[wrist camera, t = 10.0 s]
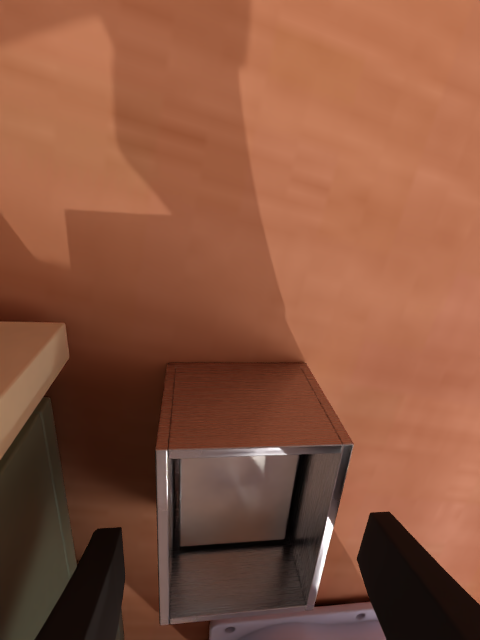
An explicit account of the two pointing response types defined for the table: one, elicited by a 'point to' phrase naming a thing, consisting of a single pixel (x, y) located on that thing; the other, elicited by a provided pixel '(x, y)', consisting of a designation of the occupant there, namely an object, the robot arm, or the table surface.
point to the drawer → (31, 480)
